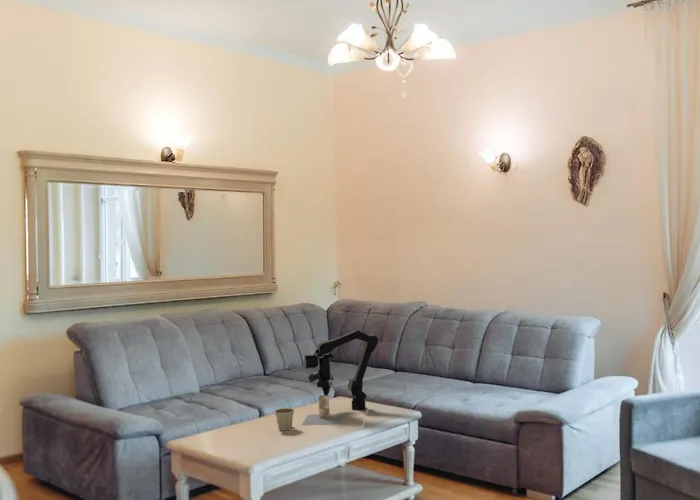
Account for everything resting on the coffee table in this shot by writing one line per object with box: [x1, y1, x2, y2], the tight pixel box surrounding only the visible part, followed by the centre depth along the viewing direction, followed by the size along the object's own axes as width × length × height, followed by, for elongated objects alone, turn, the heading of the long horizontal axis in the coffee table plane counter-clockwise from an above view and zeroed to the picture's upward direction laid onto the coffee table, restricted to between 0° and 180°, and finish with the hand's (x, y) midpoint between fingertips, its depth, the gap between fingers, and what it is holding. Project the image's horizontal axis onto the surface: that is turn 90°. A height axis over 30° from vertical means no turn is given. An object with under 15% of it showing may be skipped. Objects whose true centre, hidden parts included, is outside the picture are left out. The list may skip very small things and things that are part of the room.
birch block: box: [318, 394, 331, 418], centre depth 343 cm, size 4×5×10 cm
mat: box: [301, 413, 344, 426], centre depth 339 cm, size 18×20×1 cm
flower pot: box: [274, 407, 295, 431], centre depth 326 cm, size 9×9×9 cm
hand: (326, 397), depth 352 cm, fingers closed
